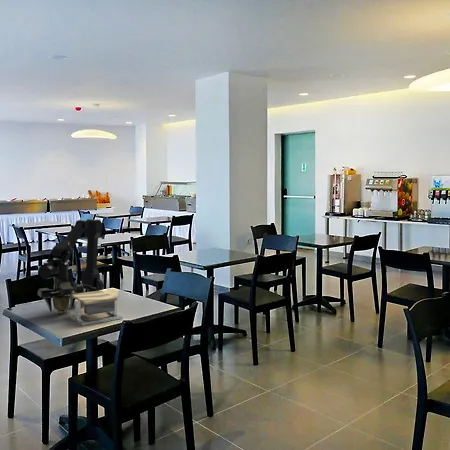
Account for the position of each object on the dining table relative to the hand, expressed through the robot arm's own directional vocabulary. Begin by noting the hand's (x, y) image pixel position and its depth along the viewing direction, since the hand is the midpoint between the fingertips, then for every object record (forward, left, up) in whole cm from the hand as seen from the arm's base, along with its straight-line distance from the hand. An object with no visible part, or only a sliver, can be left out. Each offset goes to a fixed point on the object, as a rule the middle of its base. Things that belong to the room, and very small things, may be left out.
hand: (61, 309), depth 223 cm
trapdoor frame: (+15, +10, -2) cm, 18 cm away
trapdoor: (+12, +10, +2) cm, 16 cm away
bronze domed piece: (0, 0, -2) cm, 2 cm away
